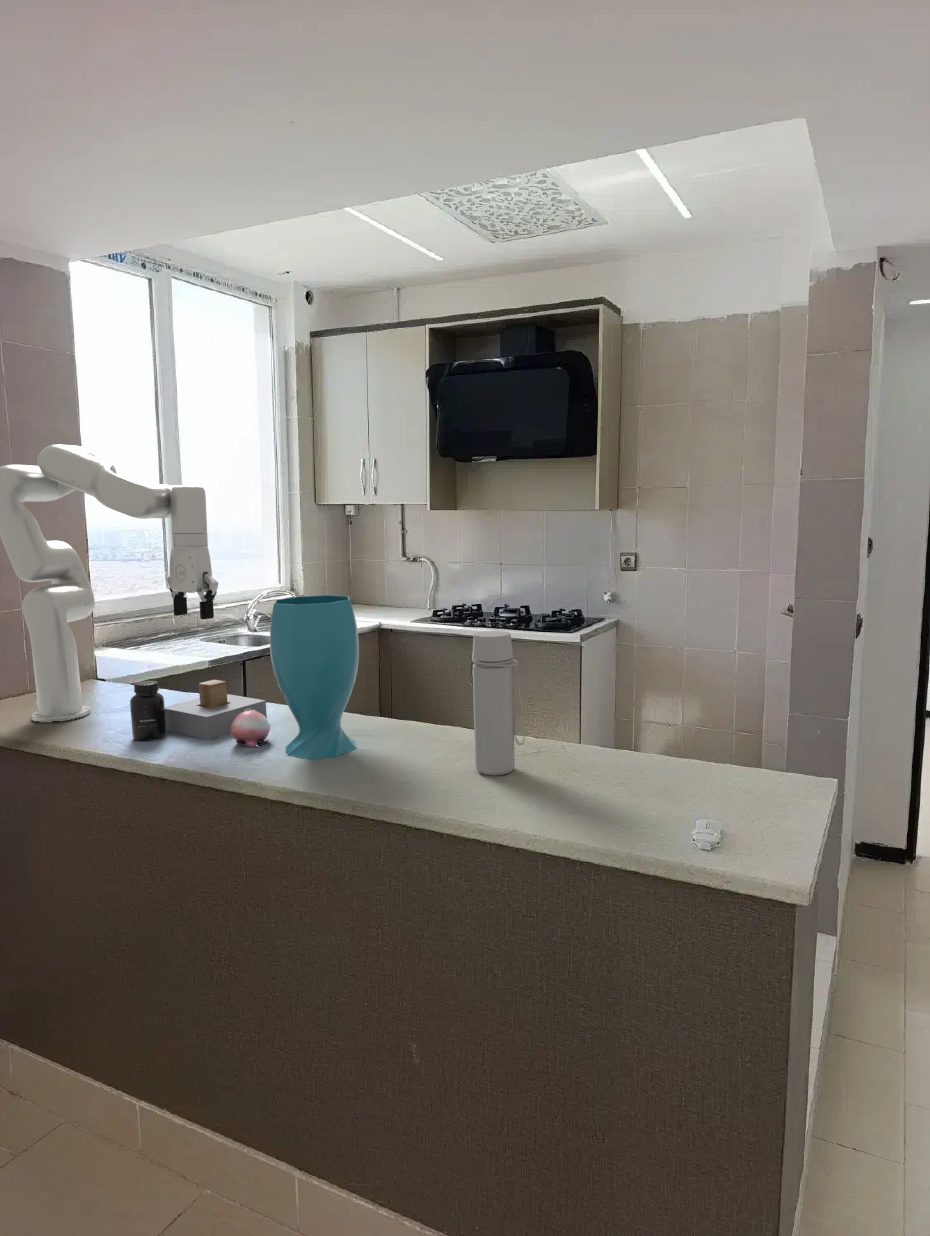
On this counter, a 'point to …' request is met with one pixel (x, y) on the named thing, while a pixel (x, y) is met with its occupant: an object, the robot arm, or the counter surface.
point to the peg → (213, 693)
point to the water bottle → (494, 702)
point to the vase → (315, 669)
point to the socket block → (209, 716)
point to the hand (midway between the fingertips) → (193, 616)
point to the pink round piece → (250, 728)
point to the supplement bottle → (147, 712)
